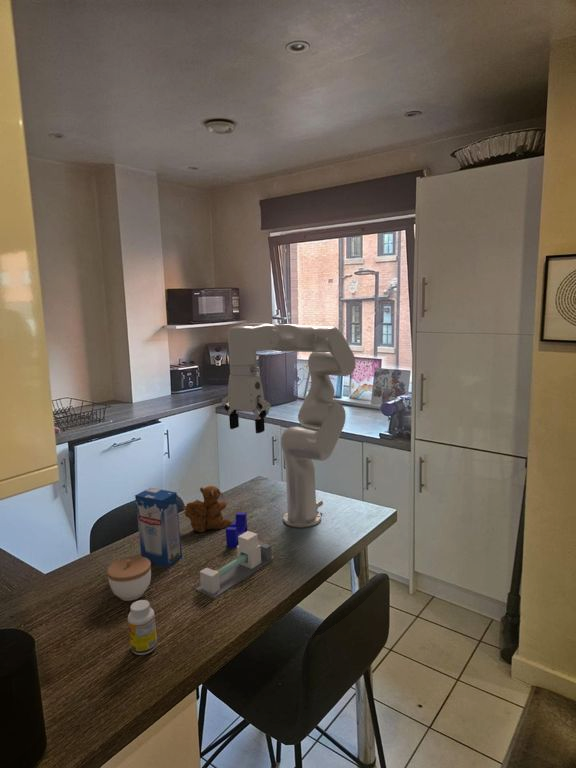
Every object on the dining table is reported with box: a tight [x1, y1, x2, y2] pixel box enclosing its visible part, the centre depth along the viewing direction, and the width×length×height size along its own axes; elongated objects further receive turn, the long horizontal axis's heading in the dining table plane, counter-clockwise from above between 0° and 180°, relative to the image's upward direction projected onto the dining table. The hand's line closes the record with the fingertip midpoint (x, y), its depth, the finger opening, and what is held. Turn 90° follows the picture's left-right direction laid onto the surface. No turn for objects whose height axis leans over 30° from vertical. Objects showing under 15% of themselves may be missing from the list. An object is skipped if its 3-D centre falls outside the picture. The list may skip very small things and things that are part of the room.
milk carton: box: [134, 487, 183, 568], centre depth 149 cm, size 10×6×20 cm, turn 62°
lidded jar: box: [106, 555, 152, 602], centre depth 133 cm, size 11×11×9 cm
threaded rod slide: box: [194, 540, 276, 600], centre depth 140 cm, size 24×7×5 cm, turn 142°
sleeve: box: [236, 530, 261, 569], centre depth 144 cm, size 4×5×8 cm
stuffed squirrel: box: [182, 485, 233, 533], centre depth 169 cm, size 10×14×13 cm
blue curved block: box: [225, 511, 248, 549], centre depth 161 cm, size 12×4×6 cm, turn 169°
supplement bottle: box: [127, 599, 158, 656], centre depth 112 cm, size 6×6×10 cm
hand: (247, 430), depth 147 cm, fingers open, 9 cm apart
